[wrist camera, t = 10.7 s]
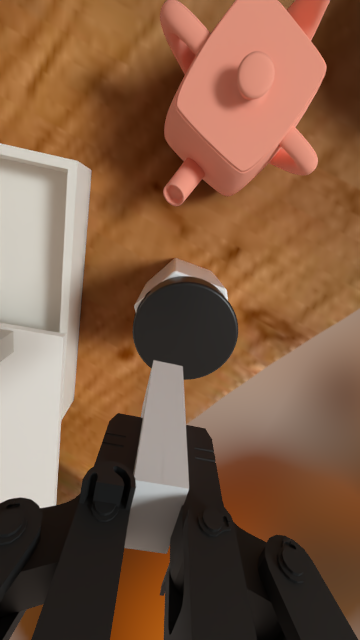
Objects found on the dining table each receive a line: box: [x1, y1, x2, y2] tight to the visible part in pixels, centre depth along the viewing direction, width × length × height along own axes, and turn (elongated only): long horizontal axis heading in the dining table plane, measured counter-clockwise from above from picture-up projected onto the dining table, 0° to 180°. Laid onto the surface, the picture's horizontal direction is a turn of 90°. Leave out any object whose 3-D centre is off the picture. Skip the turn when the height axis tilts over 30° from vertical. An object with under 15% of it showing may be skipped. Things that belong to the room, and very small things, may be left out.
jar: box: [133, 258, 238, 380], centre depth 25 cm, size 9×8×12 cm
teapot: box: [160, 0, 330, 206], centre depth 21 cm, size 14×12×10 cm
